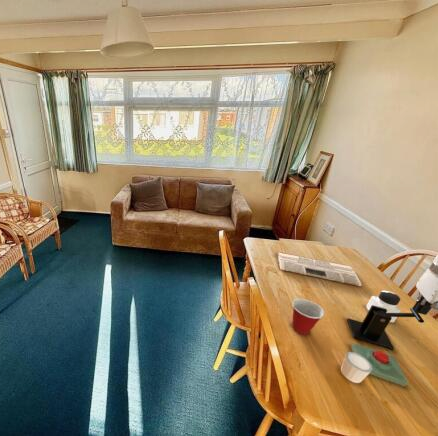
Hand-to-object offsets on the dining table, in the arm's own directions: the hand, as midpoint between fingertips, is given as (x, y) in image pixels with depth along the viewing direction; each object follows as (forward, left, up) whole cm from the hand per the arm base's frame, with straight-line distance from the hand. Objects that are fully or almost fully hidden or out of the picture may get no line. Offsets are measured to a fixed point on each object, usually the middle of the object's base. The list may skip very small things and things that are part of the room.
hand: (418, 311), depth 83 cm
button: (+11, +15, -13) cm, 23 cm away
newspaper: (+22, -42, -17) cm, 50 cm away
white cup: (+20, +23, -17) cm, 35 cm away
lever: (+4, 0, -5) cm, 6 cm away
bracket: (+9, 0, -17) cm, 19 cm away
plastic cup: (+34, +9, -17) cm, 39 cm away
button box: (+11, +15, -17) cm, 25 cm away
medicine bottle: (+1, -15, -17) cm, 23 cm away
